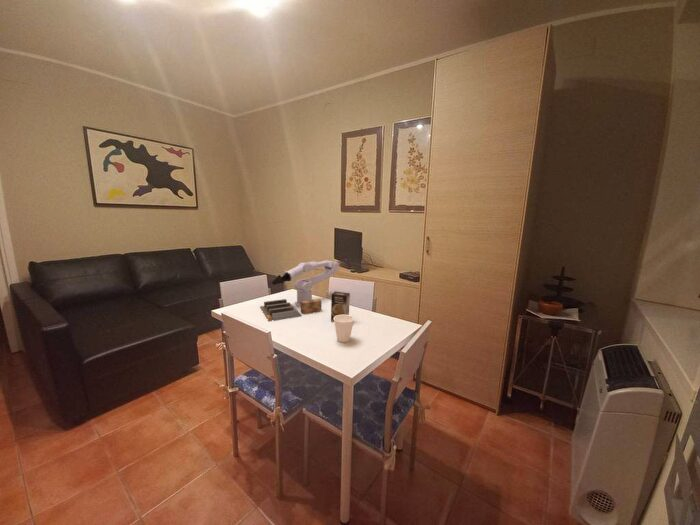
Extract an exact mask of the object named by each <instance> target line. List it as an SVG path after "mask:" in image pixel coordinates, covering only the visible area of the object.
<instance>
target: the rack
mask: <svg viewBox="0 0 700 525" xmlns="http://www.w3.org/2000/svg"><path fill="white" fill-rule="evenodd" d="M259 309H261V312H262V311H263V312H262V313H263V314H264V316H265V319H266V320H267V319H268V320H267V322H272V320H274V321H279V319H281V320H286V318H287V319H293V318H299V317H302V315H303V314H302V313H301V312H299V311H298V310H297V309H296V308H295V306H293V305H292V303H290V302H288V300H287V299H286V298H284V299H276V300H266V301H264V302H263V305H262V306H261V305H259ZM292 317H293V318H292Z"/></svg>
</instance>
